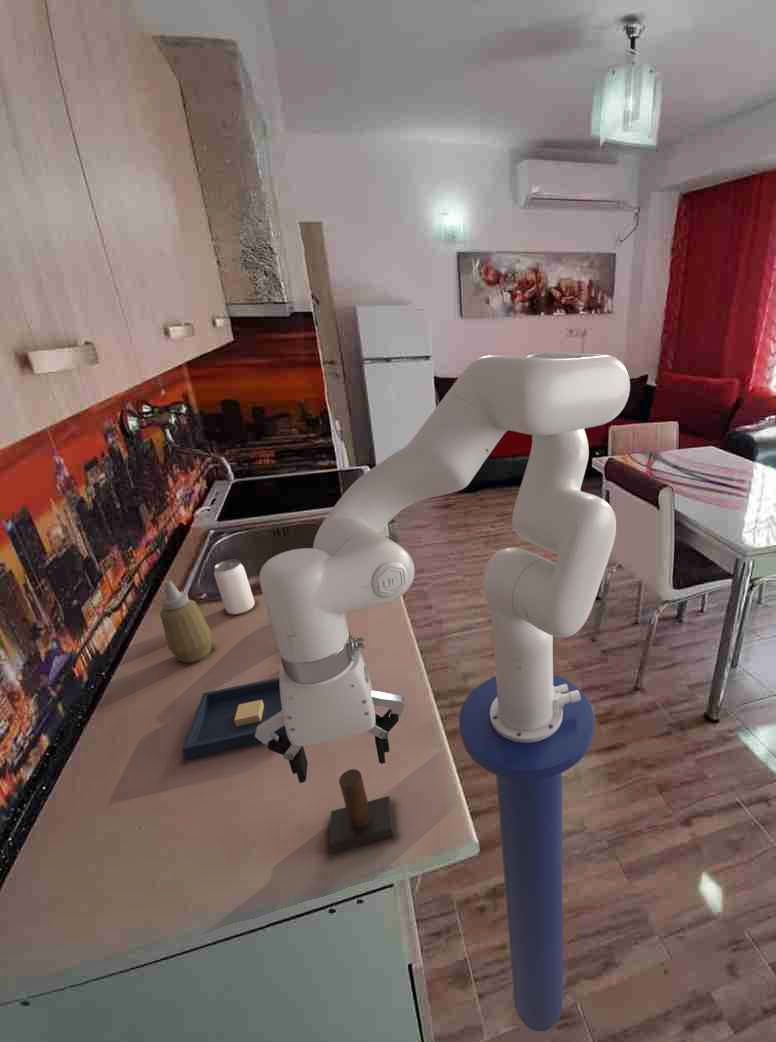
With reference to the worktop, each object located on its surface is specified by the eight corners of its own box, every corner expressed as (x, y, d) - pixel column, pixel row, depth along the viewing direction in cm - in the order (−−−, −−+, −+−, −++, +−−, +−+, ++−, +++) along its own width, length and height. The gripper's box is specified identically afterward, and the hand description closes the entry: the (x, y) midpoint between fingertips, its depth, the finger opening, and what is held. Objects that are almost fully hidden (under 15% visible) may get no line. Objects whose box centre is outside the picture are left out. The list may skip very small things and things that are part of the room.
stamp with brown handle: (391, 805, 73) (380, 755, 69) (393, 837, 69) (382, 786, 65) (333, 820, 72) (319, 770, 68) (332, 854, 67) (317, 802, 63)
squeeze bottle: (218, 639, 113) (193, 568, 106) (214, 660, 107) (187, 586, 99) (177, 649, 111) (149, 577, 103) (171, 671, 104) (139, 596, 96)
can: (256, 598, 129) (243, 556, 124) (253, 611, 123) (240, 568, 118) (228, 604, 127) (214, 561, 122) (224, 617, 121) (209, 573, 116)
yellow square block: (264, 705, 93) (262, 699, 92) (260, 721, 89) (258, 715, 89) (240, 710, 92) (238, 704, 91) (236, 726, 88) (233, 720, 88)
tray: (316, 680, 99) (313, 670, 98) (311, 731, 87) (308, 720, 86) (207, 703, 95) (203, 692, 94) (186, 760, 83) (181, 749, 82)
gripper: (392, 623, 63) (408, 727, 70) (242, 650, 59) (275, 757, 66) (397, 660, 56) (414, 771, 63) (228, 693, 52) (267, 807, 60)
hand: (343, 764), depth 65 cm, fingers open, 9 cm apart
